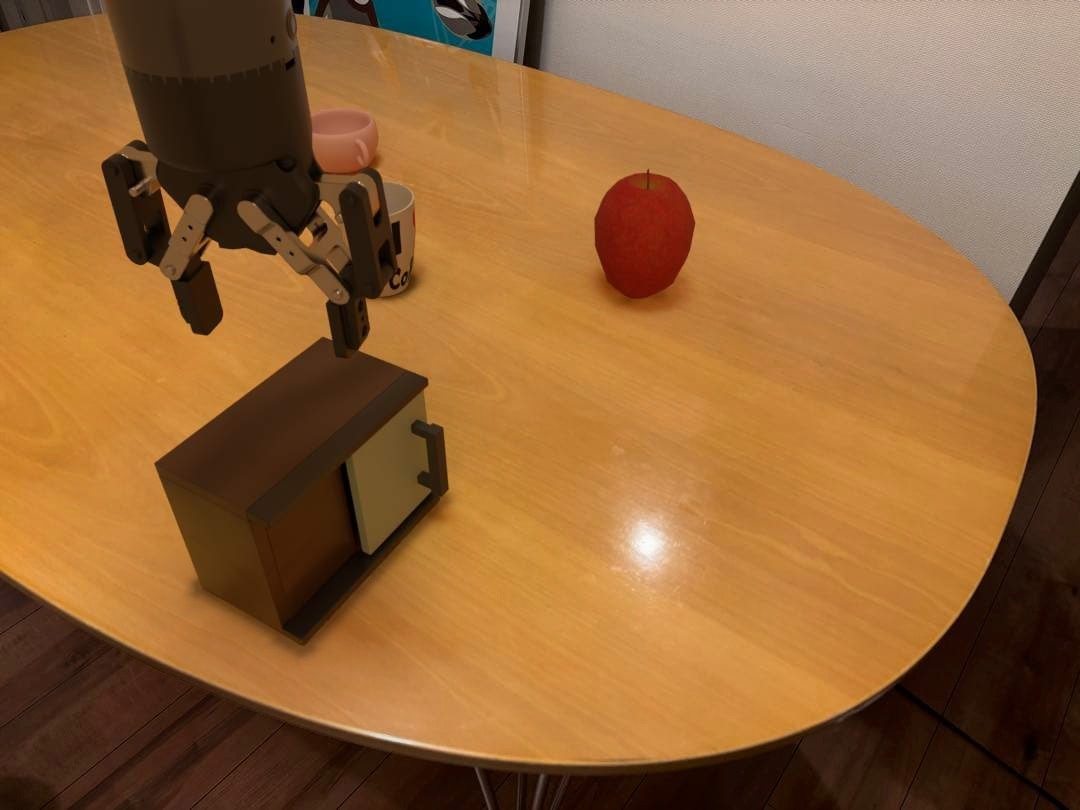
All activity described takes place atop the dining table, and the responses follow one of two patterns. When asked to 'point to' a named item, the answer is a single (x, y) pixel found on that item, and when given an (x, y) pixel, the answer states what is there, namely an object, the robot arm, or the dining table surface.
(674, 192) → the apple
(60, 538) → the dining table surface
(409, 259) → the cup
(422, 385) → the cabinet
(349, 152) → the mug
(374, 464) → the door
